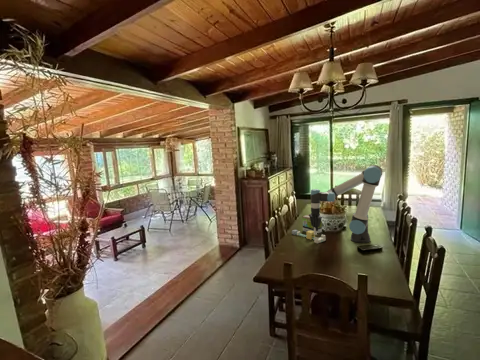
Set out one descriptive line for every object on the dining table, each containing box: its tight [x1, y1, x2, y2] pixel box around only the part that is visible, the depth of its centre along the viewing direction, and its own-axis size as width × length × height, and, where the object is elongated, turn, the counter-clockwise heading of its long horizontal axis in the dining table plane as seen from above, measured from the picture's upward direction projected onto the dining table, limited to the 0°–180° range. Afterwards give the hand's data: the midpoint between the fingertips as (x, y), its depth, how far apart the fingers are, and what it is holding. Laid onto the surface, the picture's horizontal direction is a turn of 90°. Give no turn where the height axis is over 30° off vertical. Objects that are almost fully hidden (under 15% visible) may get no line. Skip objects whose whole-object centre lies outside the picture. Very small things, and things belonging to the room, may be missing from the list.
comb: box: [313, 234, 327, 244], centre depth 240 cm, size 4×10×4 cm, turn 126°
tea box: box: [302, 214, 323, 234], centre depth 266 cm, size 15×10×15 cm, turn 37°
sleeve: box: [305, 230, 316, 241], centre depth 248 cm, size 5×5×6 cm
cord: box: [296, 233, 324, 243], centre depth 252 cm, size 32×2×2 cm, turn 35°
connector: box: [291, 229, 299, 236], centre depth 263 cm, size 4×4×3 cm
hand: (315, 234), depth 243 cm, fingers closed
